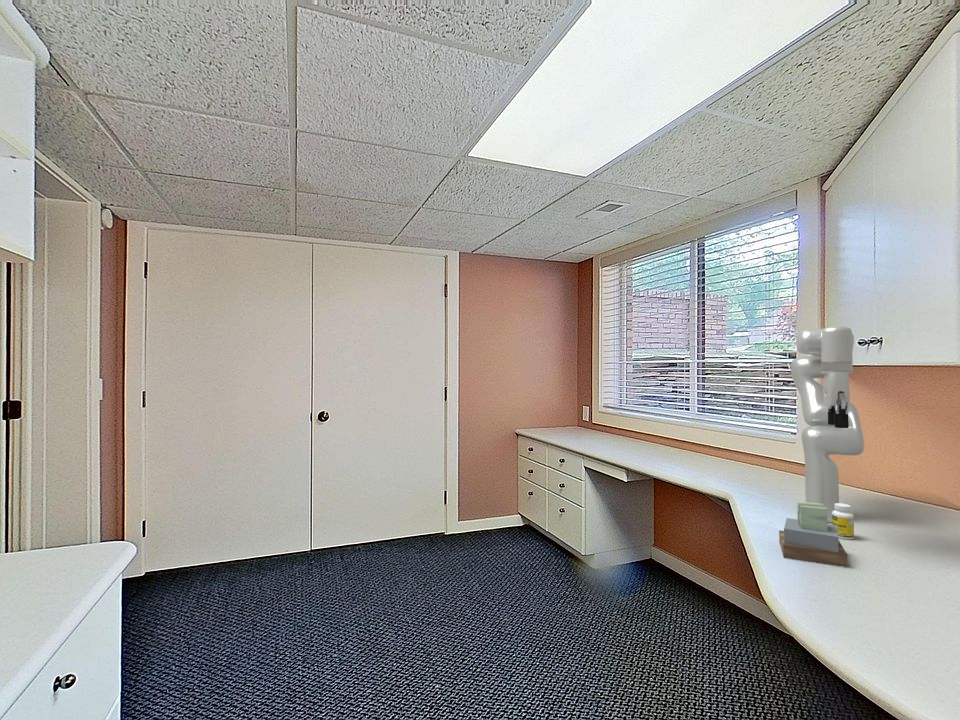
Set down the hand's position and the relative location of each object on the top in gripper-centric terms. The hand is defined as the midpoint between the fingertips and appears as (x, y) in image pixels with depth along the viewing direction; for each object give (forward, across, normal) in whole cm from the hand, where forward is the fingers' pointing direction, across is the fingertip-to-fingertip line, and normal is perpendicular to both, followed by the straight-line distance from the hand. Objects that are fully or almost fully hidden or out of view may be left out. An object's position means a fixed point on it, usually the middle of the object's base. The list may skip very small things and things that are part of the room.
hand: (837, 426), depth 145 cm
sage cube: (+27, +14, -9) cm, 32 cm away
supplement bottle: (+34, -7, +2) cm, 35 cm away
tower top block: (+31, +14, -9) cm, 35 cm away
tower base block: (+35, +14, -9) cm, 39 cm away
